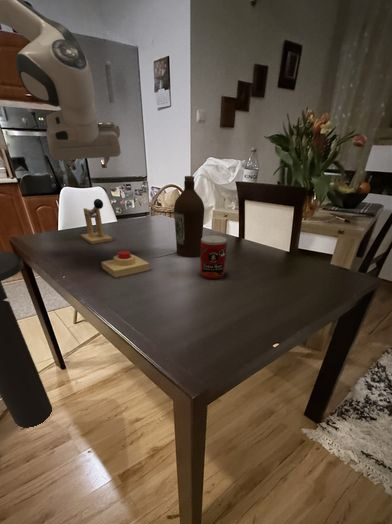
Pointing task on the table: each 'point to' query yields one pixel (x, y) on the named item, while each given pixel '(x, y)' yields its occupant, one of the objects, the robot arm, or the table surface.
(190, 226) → the olive oil
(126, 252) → the button
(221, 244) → the canned food
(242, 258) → the table surface
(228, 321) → the table surface
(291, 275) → the table surface
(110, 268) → the button block
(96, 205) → the lever
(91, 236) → the bracket
